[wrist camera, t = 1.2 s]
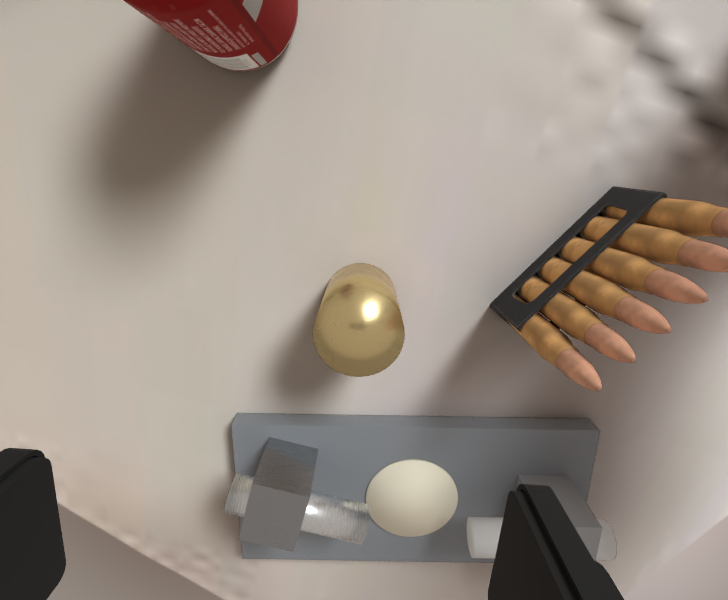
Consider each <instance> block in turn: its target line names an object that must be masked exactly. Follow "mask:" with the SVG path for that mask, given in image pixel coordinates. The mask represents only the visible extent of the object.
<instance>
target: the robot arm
mask: <svg viewBox="0 0 728 600" xmlns="http://www.w3.org/2000/svg"><path fill="white" fill-rule="evenodd" d="M65 566H66V558H65V552H64V546H63V539H62V532H61V525H60V519H59V513H58V506H57V499H56V492H55V486H54V479H53V472H52V466H51V462H50V460H49V459H46V458H45V456H44V454H43V453H42V452H41V451H39V450H32V449H18V448H8V449H4V450H3V451H1V452H0V600H46V599H47V598H48V597H49V595H50V594H51V593H52V591H53V590H54V589H55V587H56V586H57V585H58V583H59V582H60V580H61V578H62V576H63V573H64V571H65ZM488 600H624V599H623V597H622V595H621V594H620V592H619V590H618V589H617V587H616V585H615V584H614V582H613V580H612V579H611V577H610V575H609V574H608V573H607V571H606V570H605V569H604V567H603V566H602V565H601V564H599V563H598V562H597V561H594V559H593V558H592V556H591V554H590V553H589V551H588V549H587V548H586V546H585V544H584V542H583V541H582V539H581V537H580V536H579V534H578V532H577V531H576V529H575V527H574V525H573V524H572V522H571V520H570V519H569V517H568V515H567V514H566V512H565V510H564V508H563V507H562V505H561V503H560V502H559V500H558V498H557V496H556V495H555V493H554V491H553V490H552V489H551V487H549V486H547V485H532V484H519V486H518V487H517V490H516V491H510V492H509V494H508V498H507V502H506V507H505V512H504V517H503V522H502V526H501V531H500V536H499V541H498V546H497V551H496V555H495V560H494V565H493V570H492V575H491V579H490V584H489V589H488Z"/></svg>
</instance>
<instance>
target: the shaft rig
mask: <svg viewBox="0 0 728 600" xmlns="http://www.w3.org/2000/svg"><path fill="white" fill-rule="evenodd" d="M231 428H232V440H233V452H234V463H235V475H236V473H240V474H244V475H248V476H252V477H255V474H256V472H257V469H258V466H259V464H260V461H261V458H262V456H263V453H264V450H265V447H266V445H267V442H268V439H269V437H272V438H276V439H280V440H285V441H289V442H293V443H297V444H301V445H305V446H309V447H313V448H317V449H318V455H317V460H316V466H315V472H314V477H313V483H312V489H311V491H315V492H319V493H324V494H328V495H332V496H336V497H340V498H345V499H349V500H353V501H357V502H361V503H365V504H369V506H370V516H369V523H368V529H367V533H366V536H365V539H364V542H363V543H362V544H357V543H353V542H349V541H344V540H340V539H336V538H332V537H327V536H323V535H319V534H314V533H310V532H306V531H301V530H300V532H299V536H298V539H297V542H296V546H295V549H294V552H291V551H286V550H282V549H278V548H273V547H269V546H264V545H260V544H256V543H251V542H247V541H243V540H241V547H242V559H299V560H357V561H415V562H473V563H494V560H495V555H496V551H497V546H498V541H499V536H500V531H501V526H502V522H503V517H504V512H505V507H506V502H507V498H508V494H509V492H510V491H516V490H517V487H518V486H519V484H532V485H547V486H549V487H551V489H552V490H553V491H554V493H555V495H556V496H557V498H558V500H559V502H560V503H561V505H562V507H563V508H564V510H565V512H566V514H567V515H568V517H569V519H570V520H571V522H572V524H573V525H574V527H575V529H576V531H577V532H578V534H579V536H580V537H581V539H582V541H583V542H584V544H585V546H586V548H587V549H588V551H589V553H590V554H591V556H592V558H593V559H594V561H596V560H614V559H615V557H616V553H617V545H616V539H615V536H614V533H613V530H612V528H611V526H610V525H609V524H608V522H607V521H606V520H604V519H596V517H595V516H594V514H593V513H592V511H591V510H590V508H589V507H588V505H587V504H586V501H587V496H588V490H589V485H590V480H591V475H592V470H593V465H594V460H595V455H596V449H597V444H598V439H599V434H600V430H599V429H598V428H597V426H596V425H595V424H594V423H593V422H592V421H591V420H590V419H570V418H508V417H447V416H385V415H324V414H263V413H237V415H236V417H235V418H234V420H233V422H232V424H231ZM243 518H244V517H241V516H239V523H240V530H241V526H242V522H243Z"/></svg>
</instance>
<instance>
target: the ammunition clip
mask: <svg viewBox="0 0 728 600" xmlns="http://www.w3.org/2000/svg"><path fill="white" fill-rule="evenodd" d="M661 197H663V198H661ZM666 197H667V195H666V194H665V193H663V192H655V191H647V190H638V189H630V188H622V187H612V188H611V189H610V190H609V191H608V192H607V193H606V194H605V195H604V196H603V197H602V198H600V199H599V200H598V201H597V202H596V203H595V204H594V205H593V206H592V207H591V208H590V209H589V210H588V211H587V212H586V213H585V214H584V215H583V216H582V217H581V218H580V219H579V220H577V221H576V222H575V223H574V224H573V225H572V226H571V227H570V228H569V229H568V230H567V231H566V232H565V233H564V234H563V235H562V236H561V237H560V238H559V239H558V240H557V241H555V242H554V243H553V244H552V245H551V246H550V247H549V248H548V249H547V250H546V251H545V252H544V253H543V254H542V255H541V256H540V257H539V258H538V259H537V260H536V261H535V262H534V263H532V264H531V265H530V266H529V267H528V268H527V269H526V270H525V271H524V272H523V273H522V274H521V275H520V276H519V277H518V278H517V279H516V280H515V281H514V282H513V283H512V284H510V285H509V286H508V287H507V288H506V289H505V290H504V291H503V292H502V293H501V294H500V295H499V296H498V297H497V298H496V299H495V300H494V301H493V302H492V303H491V305H490V307H491V308H492V309H493V310H494V311H495V312H496V313H497V314H499V315H500V316H501V317H502V318H503V319H504V320H505V321H506V322H507V323H508V324H509V325H511V326H512V327H513V328H514V329H515V330H516V331H517V332H518V333H519V334H520V335H521V336H522V337H523V338H524V339H525V340H526V341H527V342H528V343H529V344H530V345H531V346H532V347H533V349H534V350H535V351H536V352H537V353H538V354H539V355H540V356H541V357H542V358H544V359H545V360H547V361H548V362H550V363H552V364H553V365H555V366H556V367H557V368H558V369H559V370H561V371H562V372H563V373H564V374H565V375H566V376H568V377H569V378H570V379H572V380H573V381H574V382H576V383H578V384H579V385H581V386H583V387H585V388H588V389H590V390H595V391H600V390H601V389H602V384H601V380H600V378H599V376H598V374H597V372H596V371H595V369H594V368H593V366H592V365H591V364H590V362H589V361H588V360H587V359H586V358H585V357H584V356H583V355H582V354H581V353H580V352H579V351H578V350H577V349H576V348H575V347H574V346H573V345H572V343H571V341H570V340H569V338H568V337H567V336H566V335H565V334H564V333H562V332H561V331H560V330H559V329H560V328H561V329H562V330H563V331H565V332H566V333H567V334H569V335H570V336H572V337H573V338H575V339H578V340H581V341H583V342H584V343H586V344H588V345H589V346H591V347H593V348H594V349H595V350H597V351H598V352H600V353H602V354H604V355H605V356H607V357H610V358H612V359H615V360H618V361H621V362H627V363H633V362H635V361H636V357H635V354H634V352H633V350H632V349H631V347H630V346H629V344H628V343H627V342H626V341H625V339H624V338H623V337H621V336H620V335H619V334H618V333H617V332H616V331H614V330H613V329H611V328H610V327H608V325H606V324H605V323H604V322H602V321H601V320H600V319H599V318H598V316H597V315H596V314H595V313H594V312H593V311H591V310H590V309H588V308H587V307H585V306H588V307H590V308H592V309H593V310H595V311H597V312H598V313H600V314H603V315H608V316H611V317H613V318H615V319H617V320H619V321H623V322H625V323H626V324H628V325H630V326H632V327H635V328H638V329H640V330H644V331H648V332H653V333H659V334H664V333H669V332H671V327H670V325H669V323H668V322H667V320H666V319H665V318H664V317H663V316H662V315H661V314H660V313H659V312H658V311H657V310H655V309H654V308H652V307H651V306H649V305H648V304H646V303H645V302H643V301H641V300H639V299H637V298H636V297H634V296H632V295H631V294H629V293H627V292H626V291H625V290H624V289H623V288H622V287H620V286H619V285H621V286H623V287H625V288H628V289H631V290H636V291H643V292H646V293H649V294H652V295H656V296H658V297H661V298H664V299H668V300H672V301H676V302H681V303H691V304H696V303H704V302H707V301H708V296H707V295H706V293H705V292H704V291H703V290H702V289H701V288H700V287H699V286H697V285H696V284H695V283H693V282H692V281H690V280H689V279H687V278H685V277H683V276H681V275H679V274H676V273H674V272H671V271H668V270H667V269H664V268H662V267H659V266H657V265H655V264H654V263H652V262H651V261H655V262H658V263H663V264H677V265H682V266H686V267H692V268H696V269H700V270H706V271H714V272H728V249H726V248H724V247H721V246H718V245H716V244H712V243H708V242H704V241H700V240H698V239H695V238H691V237H687V236H686V235H689V236H695V237H697V236H714V237H727V238H728V208H725V207H719V206H717V205H714V204H711V203H707V202H702V201H692V200H682V199H671V198H666ZM649 260H651V261H649ZM613 282H614V283H613ZM615 283H616V284H615ZM617 284H618V285H617ZM560 290H561V291H563V292H564V293H566V294H568V295H569V296H571V297H573V298H575V300H574V299H572V298H571V297H569V296H567V295H566V294H564V293H563V292H561V291H560ZM538 311H539V312H540V313H542V314H543V315H544V316H546V317H547V318H548V319H549V320H551V321H548V320H547V319H546V318H544V317H543V316H542V315H541V314H540V313H538Z"/></svg>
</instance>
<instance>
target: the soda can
mask: <svg viewBox="0 0 728 600" xmlns="http://www.w3.org/2000/svg"><path fill="white" fill-rule="evenodd" d="M124 1H125V2H126V3H128V4H129V5H131V6H132V7H134V8H135V9H136V10H138V11H139V12H141V13H142V14H143V15H145V16H146V17H148V18H149V19H150V20H152V21H153V22H155V23H156V24H157V25H159V26H160V27H162V28H163V29H165V30H166V31H167V32H169V33H170V34H172V35H173V36H174V37H176V38H177V39H179V40H180V41H181V42H183V43H184V44H186V45H187V46H188V47H190V48H191V49H193V50H194V51H195V52H197V53H198V54H200V55H201V56H203V57H204V58H205V59H207V60H208V61H210V62H211V63H213V64H215V65H217V66H219V67H221V68H224V69H227V70H231V71H240V72H244V71H252V70H256V69H259V68H262V67H264V66H266V65H268V64H270V63H271V62H273V61H274V60H275V59H276V58H277V57H278V56H280V54H281V53H282V52H283V51H284V50H285V48H286V47H287V45H288V44H289V42H290V40H291V38H292V36H293V33H294V30H295V27H296V23H297V17H298V0H124Z"/></svg>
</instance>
